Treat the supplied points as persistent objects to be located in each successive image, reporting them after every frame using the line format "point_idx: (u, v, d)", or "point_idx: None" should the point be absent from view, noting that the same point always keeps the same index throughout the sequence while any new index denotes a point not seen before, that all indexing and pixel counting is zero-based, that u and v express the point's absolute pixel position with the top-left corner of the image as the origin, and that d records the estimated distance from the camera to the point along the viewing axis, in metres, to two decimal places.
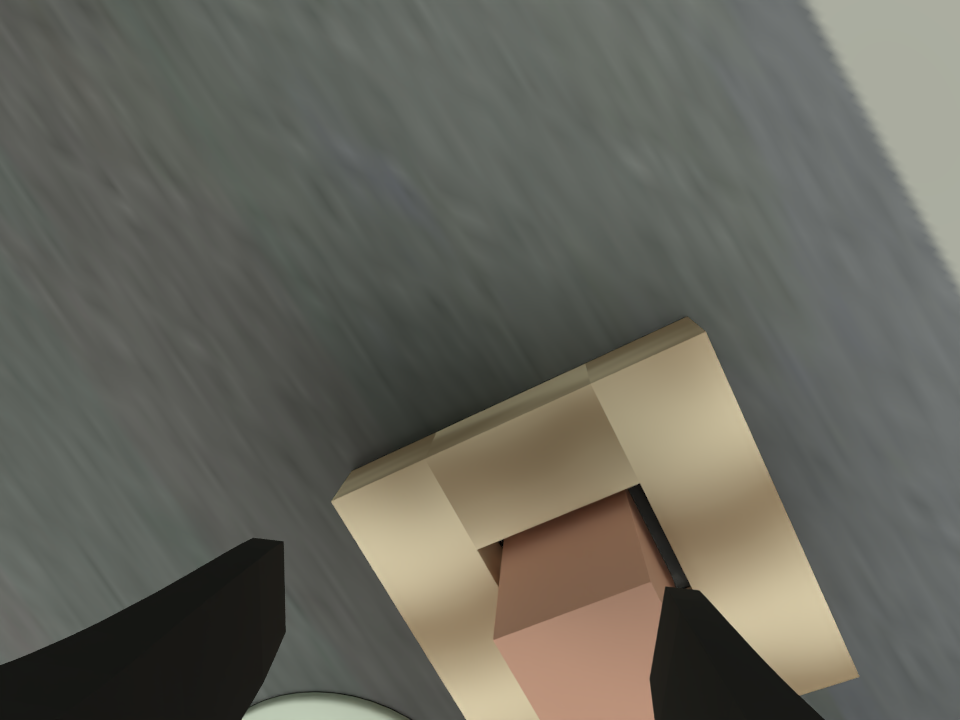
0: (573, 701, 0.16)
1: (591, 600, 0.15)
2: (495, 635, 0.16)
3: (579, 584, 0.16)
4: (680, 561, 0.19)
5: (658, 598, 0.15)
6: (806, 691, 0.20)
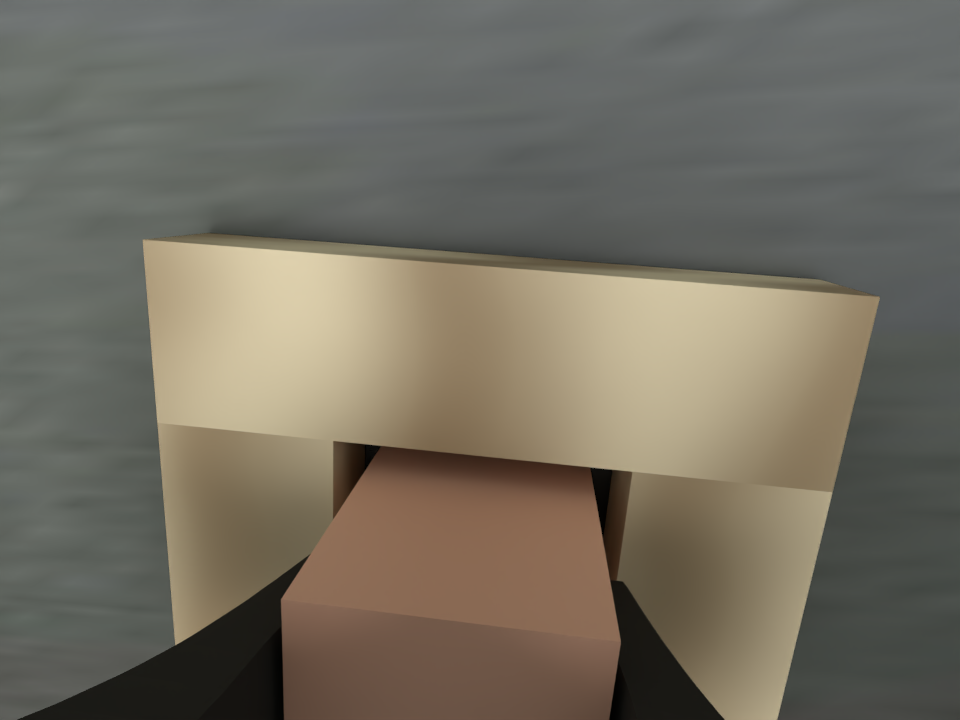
0: None
1: (287, 689, 0.08)
2: None
3: None
4: (489, 454, 0.11)
5: (321, 604, 0.08)
6: (853, 393, 0.10)
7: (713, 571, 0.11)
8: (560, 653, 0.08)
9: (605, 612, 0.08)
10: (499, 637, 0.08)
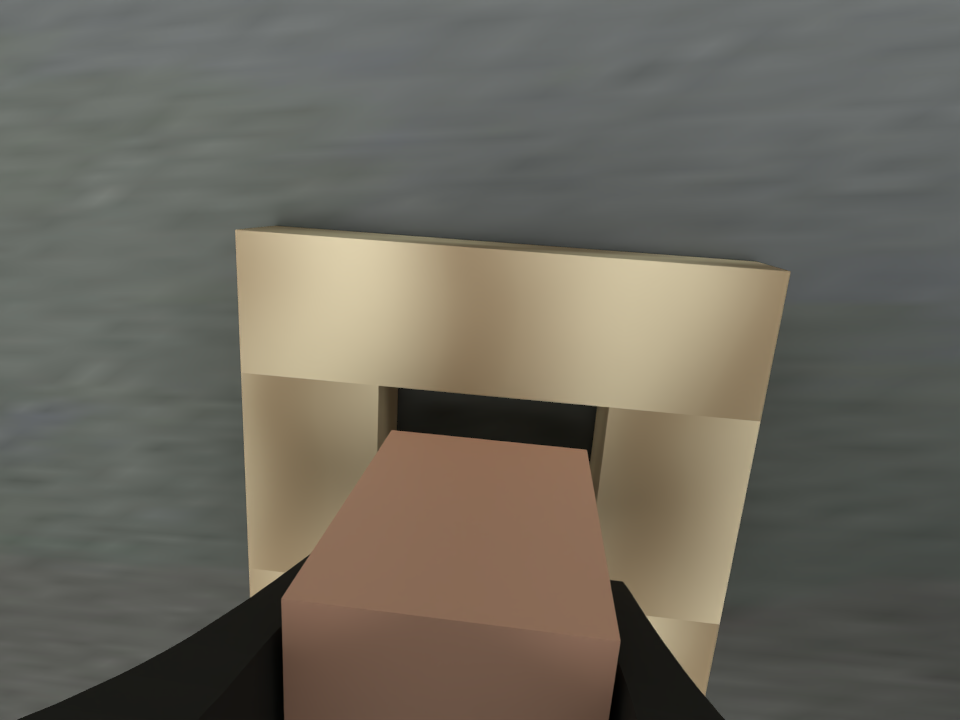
0: None
1: (287, 689, 0.08)
2: None
3: None
4: (499, 395, 0.15)
5: (321, 603, 0.08)
6: (774, 345, 0.14)
7: (672, 485, 0.15)
8: (559, 652, 0.08)
9: (605, 611, 0.08)
10: (499, 635, 0.08)
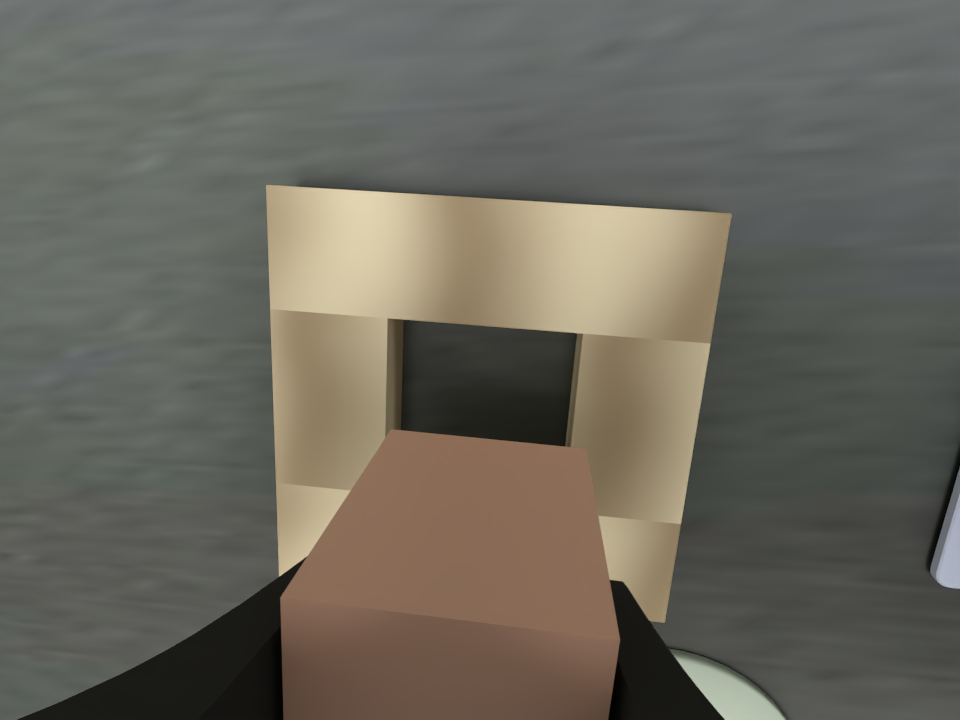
0: None
1: (286, 688, 0.08)
2: None
3: None
4: (490, 324, 0.17)
5: (320, 602, 0.08)
6: (720, 277, 0.16)
7: (637, 401, 0.17)
8: (558, 651, 0.08)
9: (604, 610, 0.08)
10: (498, 635, 0.08)
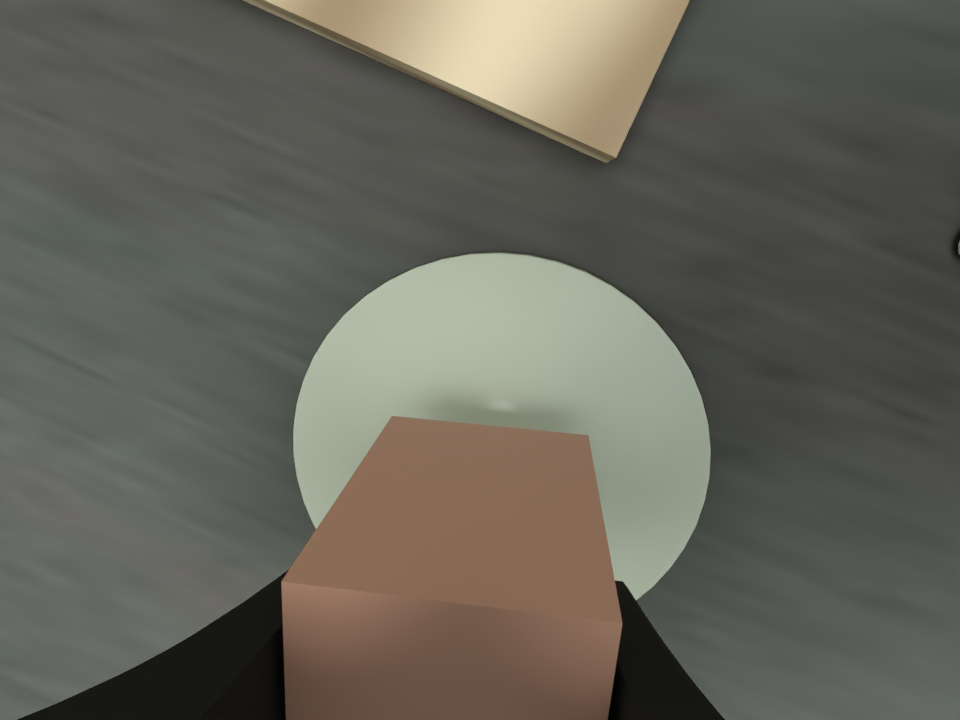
0: None
1: (288, 671, 0.08)
2: None
3: None
4: None
5: (321, 586, 0.08)
6: None
7: None
8: (560, 635, 0.08)
9: (607, 594, 0.08)
10: (501, 619, 0.08)
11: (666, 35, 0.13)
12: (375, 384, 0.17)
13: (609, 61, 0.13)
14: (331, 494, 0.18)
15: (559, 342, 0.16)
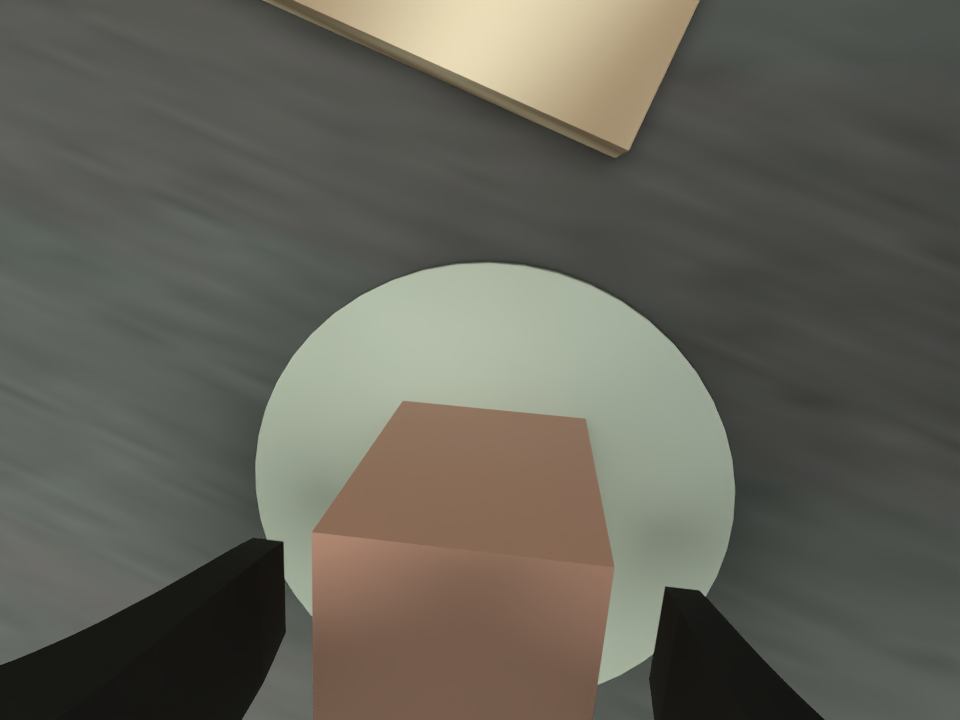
0: None
1: (315, 617, 0.09)
2: None
3: None
4: None
5: (347, 536, 0.09)
6: None
7: None
8: (560, 579, 0.09)
9: (601, 545, 0.09)
10: (507, 564, 0.09)
11: (690, 1, 0.10)
12: (348, 413, 0.15)
13: (621, 33, 0.11)
14: (299, 537, 0.16)
15: (560, 366, 0.14)
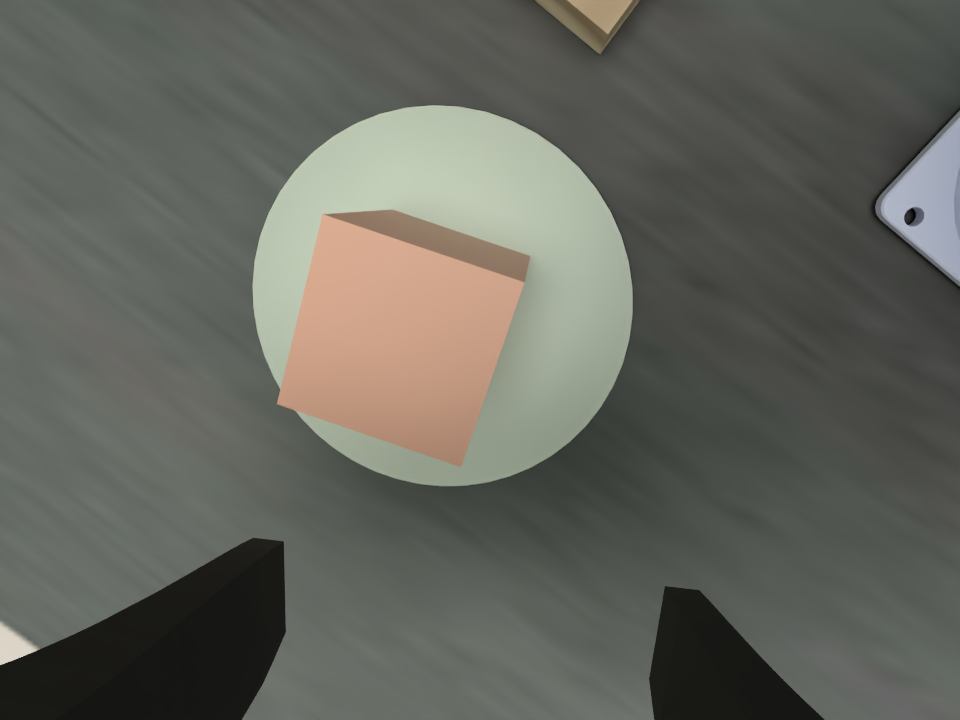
0: (397, 396, 0.13)
1: (307, 285, 0.13)
2: (280, 399, 0.14)
3: None
4: None
5: (347, 223, 0.12)
6: None
7: None
8: (485, 284, 0.12)
9: (519, 276, 0.13)
10: (452, 266, 0.12)
11: None
12: (346, 210, 0.18)
13: None
14: (281, 308, 0.19)
15: (521, 208, 0.18)
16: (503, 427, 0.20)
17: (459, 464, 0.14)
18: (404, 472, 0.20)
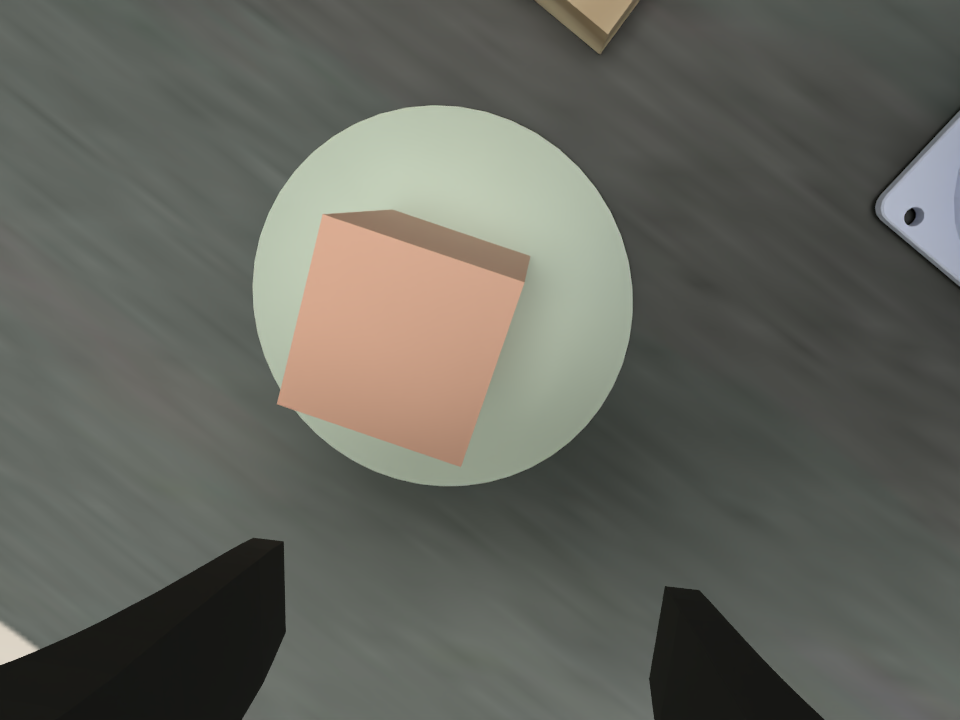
0: (397, 396, 0.13)
1: (307, 285, 0.13)
2: (280, 399, 0.14)
3: None
4: None
5: (347, 223, 0.12)
6: None
7: None
8: (485, 284, 0.12)
9: (519, 276, 0.13)
10: (452, 266, 0.12)
11: None
12: (346, 210, 0.18)
13: None
14: (281, 308, 0.19)
15: (521, 208, 0.18)
16: (503, 427, 0.20)
17: (459, 464, 0.14)
18: (404, 472, 0.20)
